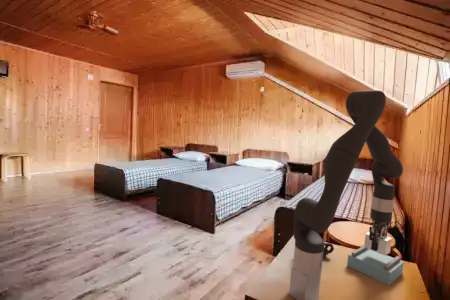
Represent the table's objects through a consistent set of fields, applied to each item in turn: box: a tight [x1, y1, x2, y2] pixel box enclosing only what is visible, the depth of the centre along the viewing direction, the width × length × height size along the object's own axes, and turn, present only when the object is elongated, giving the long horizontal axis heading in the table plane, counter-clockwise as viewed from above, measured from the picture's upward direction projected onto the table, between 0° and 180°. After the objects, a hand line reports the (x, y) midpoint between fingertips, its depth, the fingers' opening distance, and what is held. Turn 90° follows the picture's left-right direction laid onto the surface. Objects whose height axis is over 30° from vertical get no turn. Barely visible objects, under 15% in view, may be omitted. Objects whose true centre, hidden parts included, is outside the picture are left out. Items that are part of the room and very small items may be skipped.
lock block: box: [363, 232, 393, 256], centre depth 107 cm, size 5×8×6 cm, turn 39°
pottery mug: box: [322, 238, 335, 259], centre depth 119 cm, size 12×10×8 cm
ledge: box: [346, 245, 405, 286], centre depth 108 cm, size 14×16×6 cm
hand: (377, 248), depth 107 cm, fingers closed on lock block, 5 cm apart
